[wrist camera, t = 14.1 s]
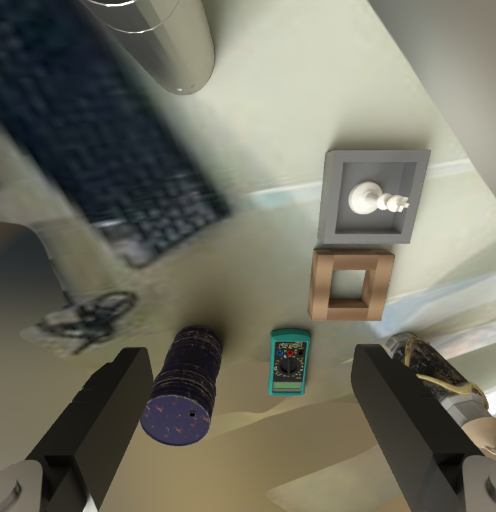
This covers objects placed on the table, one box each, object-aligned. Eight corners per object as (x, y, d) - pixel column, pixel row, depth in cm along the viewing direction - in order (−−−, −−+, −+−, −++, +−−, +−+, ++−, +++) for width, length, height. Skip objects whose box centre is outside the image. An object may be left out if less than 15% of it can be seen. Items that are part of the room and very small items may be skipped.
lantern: (424, 357, 46) (612, 549, 22) (384, 368, 47) (522, 563, 23) (419, 322, 43) (626, 497, 20) (376, 335, 44) (524, 515, 20)
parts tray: (325, 153, 34) (333, 150, 31) (413, 152, 34) (431, 149, 31) (317, 238, 38) (323, 243, 35) (395, 238, 38) (409, 243, 35)
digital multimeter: (308, 327, 44) (312, 337, 41) (301, 386, 49) (305, 398, 46) (270, 326, 44) (271, 336, 41) (267, 385, 49) (268, 398, 46)
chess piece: (386, 187, 35) (438, 190, 25) (371, 218, 36) (414, 232, 27) (356, 177, 34) (398, 176, 25) (343, 208, 36) (376, 219, 26)
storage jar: (190, 372, 47) (165, 455, 33) (163, 338, 45) (123, 411, 30) (232, 354, 46) (224, 432, 32) (206, 317, 43) (185, 384, 29)
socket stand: (313, 249, 39) (318, 255, 36) (384, 249, 39) (394, 255, 36) (307, 311, 43) (311, 320, 40) (372, 311, 42) (381, 320, 40)
